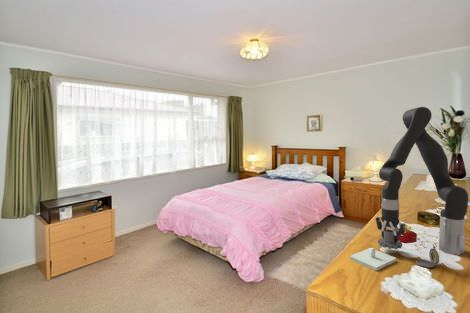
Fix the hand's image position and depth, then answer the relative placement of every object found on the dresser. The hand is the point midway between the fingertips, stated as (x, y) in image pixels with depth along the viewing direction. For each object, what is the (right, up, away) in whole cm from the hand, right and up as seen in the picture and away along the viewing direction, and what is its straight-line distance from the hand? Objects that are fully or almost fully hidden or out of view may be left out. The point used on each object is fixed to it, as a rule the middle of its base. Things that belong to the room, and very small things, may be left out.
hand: (389, 240), depth 130 cm
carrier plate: (-13, -7, -7) cm, 16 cm away
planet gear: (0, -2, 0) cm, 2 cm away
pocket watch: (+9, -7, -13) cm, 18 cm away
